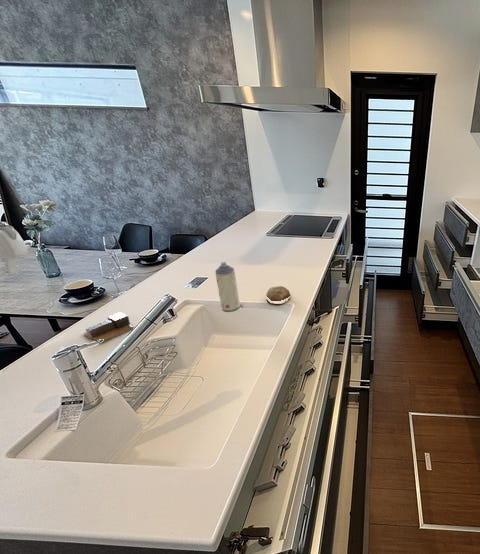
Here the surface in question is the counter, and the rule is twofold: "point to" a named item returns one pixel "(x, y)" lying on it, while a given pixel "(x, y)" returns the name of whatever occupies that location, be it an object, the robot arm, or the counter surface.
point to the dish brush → (108, 325)
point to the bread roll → (278, 293)
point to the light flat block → (112, 333)
